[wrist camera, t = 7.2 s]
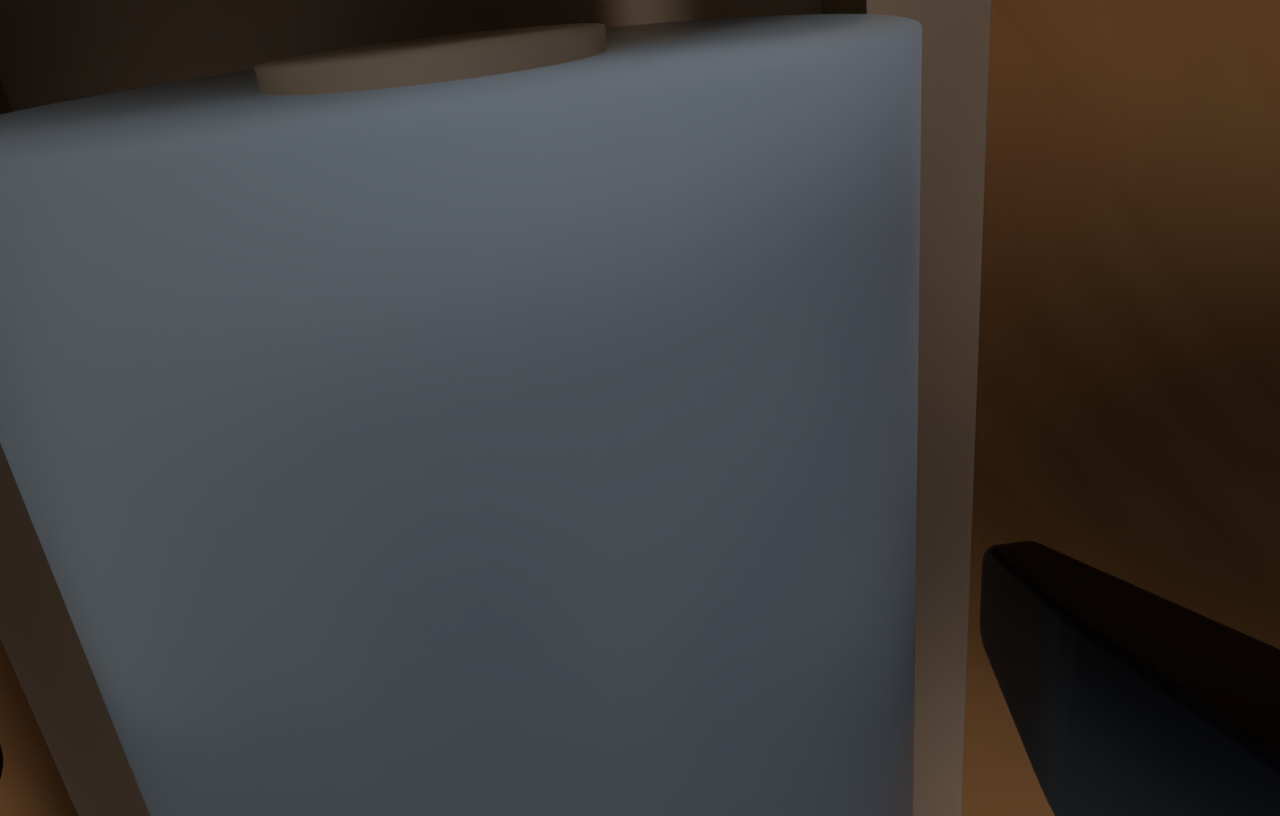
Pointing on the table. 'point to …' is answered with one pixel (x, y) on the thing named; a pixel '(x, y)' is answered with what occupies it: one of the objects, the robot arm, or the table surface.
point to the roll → (486, 419)
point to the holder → (463, 3)
